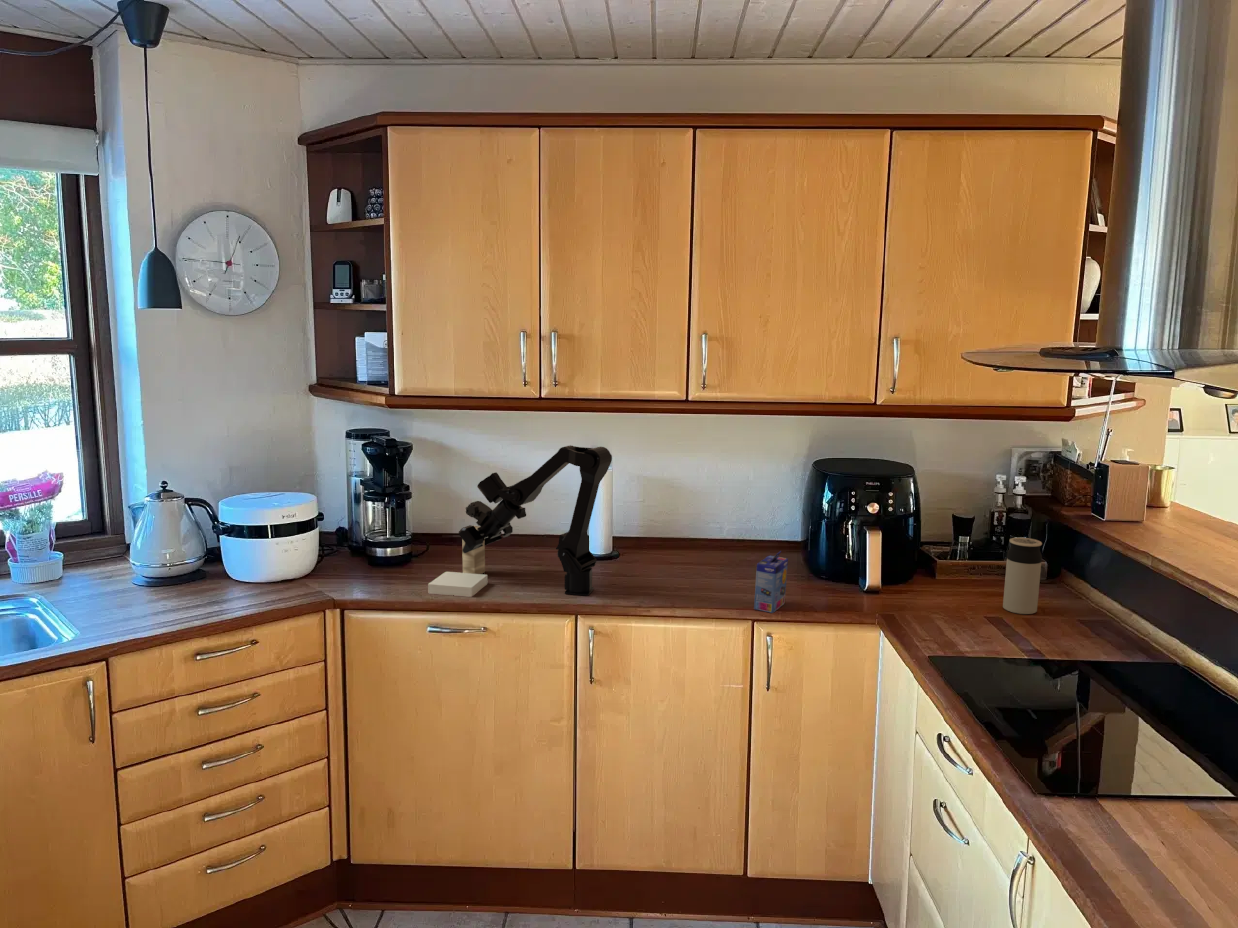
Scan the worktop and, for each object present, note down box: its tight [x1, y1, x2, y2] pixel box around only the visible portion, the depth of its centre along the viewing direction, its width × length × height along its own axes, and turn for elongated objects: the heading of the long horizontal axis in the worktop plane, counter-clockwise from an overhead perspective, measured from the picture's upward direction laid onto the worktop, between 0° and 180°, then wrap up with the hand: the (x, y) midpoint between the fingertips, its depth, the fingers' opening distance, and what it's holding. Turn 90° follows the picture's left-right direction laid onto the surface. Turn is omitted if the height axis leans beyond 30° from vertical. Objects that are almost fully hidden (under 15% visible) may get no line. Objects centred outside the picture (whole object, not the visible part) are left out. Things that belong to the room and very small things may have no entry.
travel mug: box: [1002, 537, 1043, 615], centre depth 231 cm, size 8×8×18 cm
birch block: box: [461, 525, 486, 574], centre depth 257 cm, size 4×5×13 cm
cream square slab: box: [427, 571, 489, 598], centre depth 245 cm, size 12×12×3 cm
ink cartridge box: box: [753, 550, 789, 614], centre depth 232 cm, size 10×6×14 cm, turn 152°
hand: (469, 549), depth 258 cm, fingers closed on birch block, 5 cm apart
